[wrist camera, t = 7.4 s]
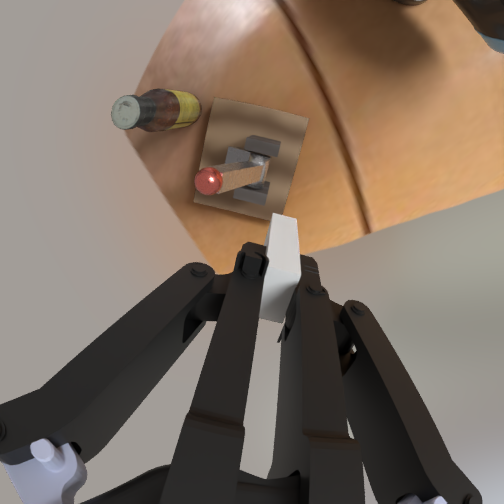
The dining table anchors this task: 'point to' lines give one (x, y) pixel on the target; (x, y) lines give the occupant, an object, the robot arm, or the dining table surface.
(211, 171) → the lever
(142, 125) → the sauce bottle
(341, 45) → the dining table surface
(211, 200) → the base
